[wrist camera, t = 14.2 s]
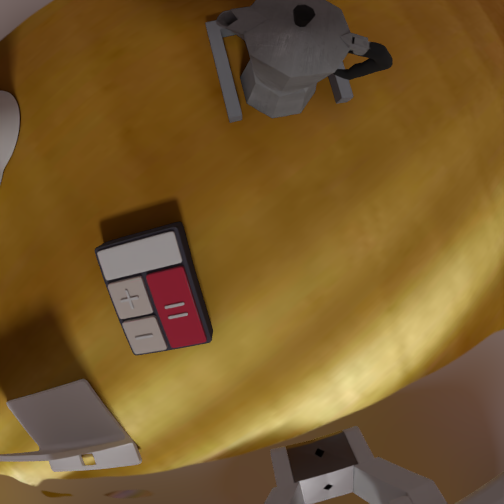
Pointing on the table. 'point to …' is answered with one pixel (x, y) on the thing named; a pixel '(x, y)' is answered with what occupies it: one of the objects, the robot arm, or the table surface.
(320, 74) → the coffeepot
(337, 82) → the dock
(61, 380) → the table surface
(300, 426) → the table surface
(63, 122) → the table surface
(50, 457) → the tablet stand
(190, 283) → the calculator
